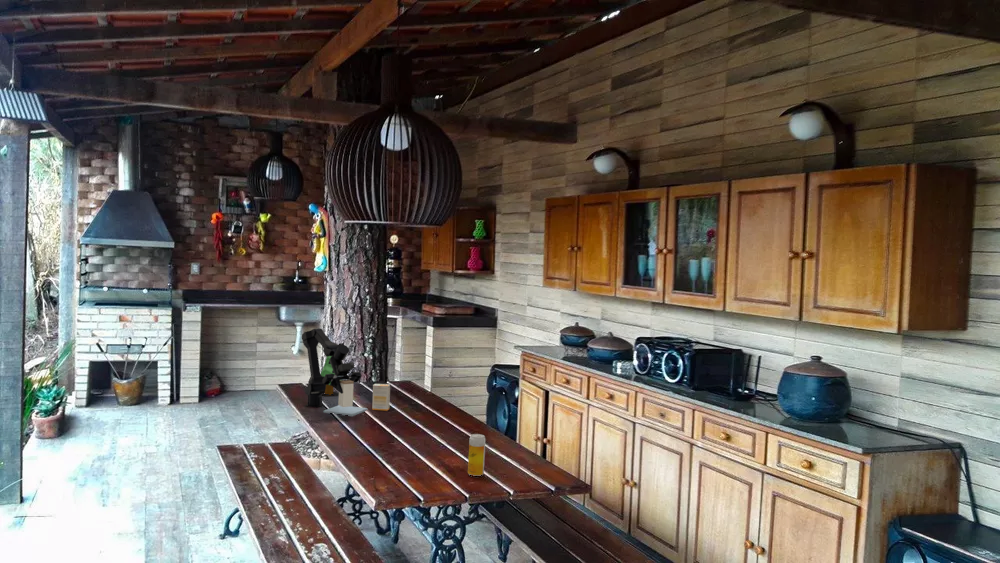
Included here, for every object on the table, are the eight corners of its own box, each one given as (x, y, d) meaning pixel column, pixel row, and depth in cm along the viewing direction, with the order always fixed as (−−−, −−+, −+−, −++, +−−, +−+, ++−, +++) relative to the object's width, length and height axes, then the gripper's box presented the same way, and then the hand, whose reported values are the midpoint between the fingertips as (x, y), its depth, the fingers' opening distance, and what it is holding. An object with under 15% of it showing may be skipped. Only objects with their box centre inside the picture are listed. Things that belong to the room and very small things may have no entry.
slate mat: (323, 412, 362) (323, 410, 362) (339, 406, 377) (340, 404, 377) (352, 416, 357) (352, 414, 357) (367, 410, 372) (367, 408, 372)
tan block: (338, 405, 351) (339, 380, 350) (347, 404, 354) (348, 379, 353) (343, 407, 347) (344, 382, 346) (352, 406, 350) (353, 381, 349)
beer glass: (467, 472, 277) (469, 433, 276) (483, 472, 277) (485, 434, 277) (467, 477, 271) (470, 437, 270) (484, 477, 271) (486, 438, 271)
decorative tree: (332, 390, 417) (334, 339, 416) (346, 395, 405) (348, 342, 404) (310, 393, 408) (313, 340, 406) (324, 398, 396) (327, 343, 395)
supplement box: (389, 409, 378) (390, 384, 377) (387, 411, 373) (388, 385, 372) (374, 408, 378) (375, 383, 378) (371, 409, 374) (372, 384, 373)
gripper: (326, 357, 346) (335, 384, 338) (360, 355, 358) (370, 381, 350) (318, 371, 353) (327, 397, 345) (352, 368, 365) (362, 394, 357)
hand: (347, 392), depth 349 cm, fingers closed on tan block, 5 cm apart
